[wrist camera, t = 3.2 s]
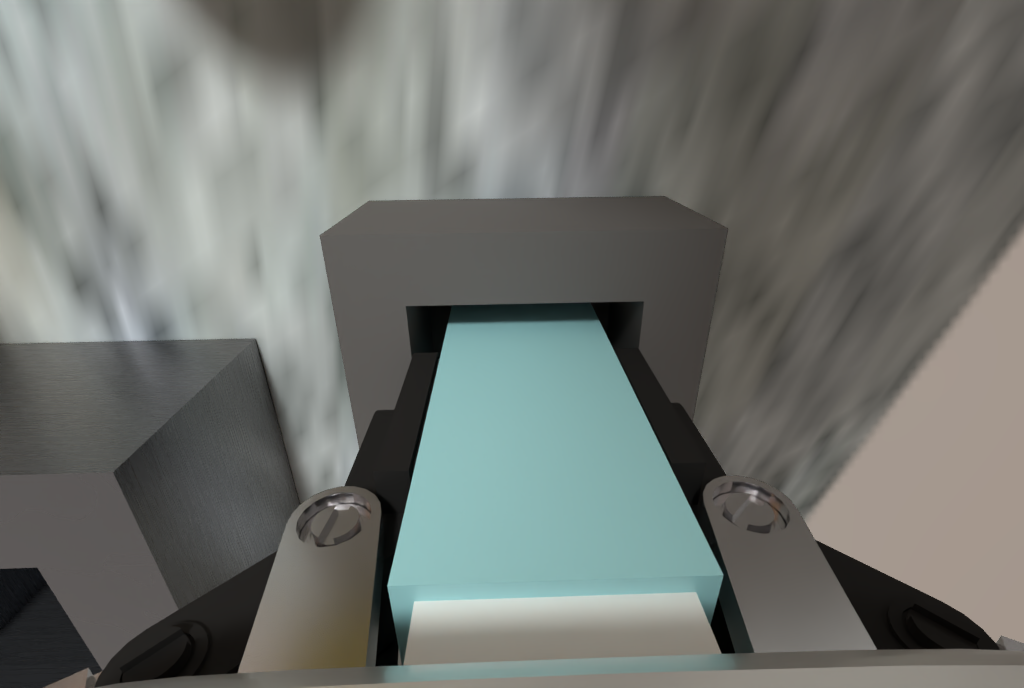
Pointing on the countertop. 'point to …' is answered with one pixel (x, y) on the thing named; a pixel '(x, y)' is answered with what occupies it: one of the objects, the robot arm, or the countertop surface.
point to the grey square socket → (520, 280)
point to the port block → (127, 491)
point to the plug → (544, 505)
